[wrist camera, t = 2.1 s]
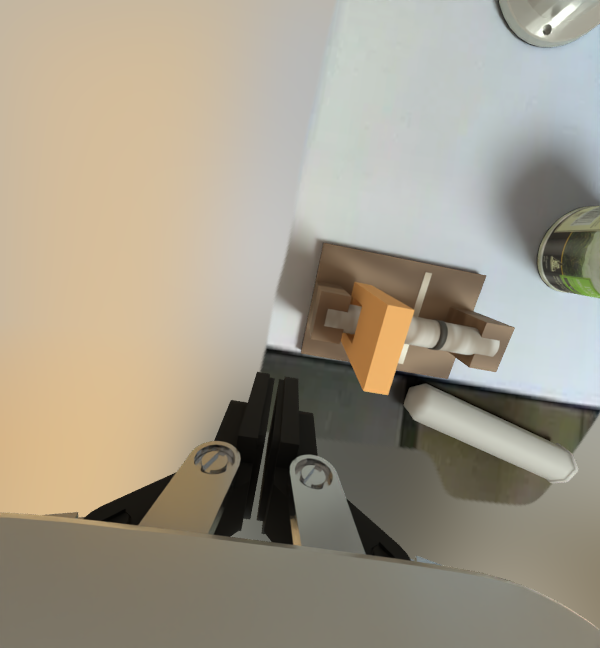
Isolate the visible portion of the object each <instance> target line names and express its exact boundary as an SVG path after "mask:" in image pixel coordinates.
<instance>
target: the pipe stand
mask: <svg viewBox="0 0 600 648" xmlns="http://www.w3.org/2000/svg"><path fill="white" fill-rule="evenodd" d="M485 278H486V275H481V274H476V273H471V272H466V271H461V270H456V269H451V268H446V267H441V266H436V265H431V264H426V263H422V262H417V261H412V260H407V259H402V258H397V257H392V256H387V255H382V254H377V253H372V252H367V251H362V250H357V249H352V248H347V247H342V246H338V245H333V244H328V243H323V247H322V252H321V257H320V262H319V267H318V271H317V276H316V281H315V286H314V291H313V295H312V300H311V305H310V310H309V315H308V320H307V324H306V329H305V334H304V339H303V344H302V348H301V353H302V354H308V355H313V356H319V357H325V358H331V359H336V360H342V361H348V362H350V360H349V358H348V356H347V354H346V351H345V349H344V347H343V345H342V342H341V338H342V334H343V333H349V334H354V335H355V331H356V327H357V323H358V320H359V316H360V312H361V308H362V306H356V305H351V304H350V301H351V297H352V296H351V294H352V290H353V286H354V282H358V283H363V284H368V285H372V286H374V287H376V288H377V289H379V290H381V291H383V292H384V293H386V294H388V295H390V296H391V297H393V298H395V299H397V300H398V301H400V302H402V303H403V304H405V305H407V306H409V307H410V308H412V309H414V310H415V311H414V314H413V317H412V320H411V323H410V327H409V330H408V333H407V336H406V339H405V342H404V346H403V349H402V352H401V355H400V358H399V362H398V365H397V368H396V370H399V371H405V372H411V373H416V374H422V375H428V376H433V377H439V378H445V379H448V377H449V374H450V371H451V369H452V366H453V363H454V361H455V358H457V359H458V360H460V361H461V362H463V363H464V364H465V365H467V366H468V367H470V368H476V369H481V370H487V371H492V372H496V371H497V369H498V366H499V364H500V362H501V359H502V357H503V354H504V352H505V350H506V347H507V345H508V343H509V340H510V338H511V336H512V333H513V331H514V329H515V328H514V327H512V326H509V325H506V324H504V323H501V322H499V321H496V320H494V319H491V318H489V317H486V316H484V315H481V314H479V313H476V312H474V311H473V310H474V307H475V305H476V302H477V299H478V297H479V294H480V291H481V289H482V286H483V283H484V281H485Z"/></svg>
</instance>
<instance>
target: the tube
mask: <svg viewBox="0 0 600 648" xmlns="http://www.w3.org/2000/svg"><path fill="white" fill-rule="evenodd" d="M403 406H404V407H405V408H406V409H407V410H408V411H409V413H410V414H411V416H412V417H413V419H414V420H415V421H418V422H420V423H422V424H424V425H427V426H429V427H431V428H433V429H436V430H438V431H440V432H442V433H445V434H447V435H449V436H451V437H453V438H456V439H458V440H460V441H462V442H465V443H467V444H469V445H471V446H474V447H476V448H478V449H480V450H483V451H485V452H487V453H489V454H492V455H494V456H496V457H498V458H501V459H503V460H505V461H507V462H510V463H512V464H514V465H516V466H519V467H521V468H523V469H525V470H528V471H530V472H532V473H534V474H537V475H539V476H541V477H543V478H546V479H547V480H548V481H549V482H550V483H560V482H568V481H569V480H570V479H571V478H572V477H573V476H574V475H575V474H576V473H577V472H578V471H579V470H578V467H577V465H576V462H575V458H574V455H573V454H572V453H571V452H569V451H568V450H567V449H566V448H564V447H563V446H562V445H560V444H558V443H552V442H550V441H548V440H546V439H544V438H542V437H540V436H537V435H535V434H533V433H531V432H529V431H527V430H525V429H522V428H520V427H518V426H516V425H514V424H512V423H510V422H507V421H505V420H503V419H501V418H499V417H497V416H495V415H492V414H490V413H488V412H486V411H484V410H482V409H480V408H477V407H475V406H473V405H471V404H469V403H467V402H465V401H462V400H460V399H458V398H456V397H454V396H452V395H450V394H447V393H445V392H443V391H441V390H439V389H437V388H435V387H433V386H430V385H428V384H426V383H425V384H421V385H417V386H414V387H410V388H409V390H408V393H407V395H406V398H405V402H404V405H403Z"/></svg>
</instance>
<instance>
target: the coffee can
mask: <svg viewBox="0 0 600 648" xmlns="http://www.w3.org/2000/svg"><path fill="white" fill-rule="evenodd" d="M537 265H538V270H539V273H540V276H541V278H542V279H543V281H544V282H545V283H546V284H547V285H548V286H549V287H550V288H552V289H554V290H556V291H560V292H566V293H574V294H579V295H585V296H590V297H596V298H600V206H589V207H582V208H578V209H576V210H573V211H571V212H569V213H568V214H566V215H564V216H563V217H561V218H560V219H559V220H558V221H557V222H556V223H554V225H553V226H552V227H551V228H550V229H549V230H548V232H547V233H546V235H545V237H544V238H543V240H542V243H541V245H540V248H539V252H538V260H537Z"/></svg>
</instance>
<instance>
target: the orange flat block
mask: <svg viewBox="0 0 600 648" xmlns="http://www.w3.org/2000/svg"><path fill="white" fill-rule="evenodd" d="M351 296H352V297H351V301H350V304H351V305H356V306H362V308H361V312H360V316H359V320H358V323H357V327H356V331H355V335H354V334H349V333H343V334H342V338H341V342H342V345H343V347H344V349H345V351H346V354H347V356H348V358H349V360H350V362H351V365H352V367H353V369H354V371H355V374H356V376H357V378H358V380H359V382H360V385H361V387H362V389H363V391H367V392H373V393H379V394H384V395H388V393H389V390H390V387H391V384H392V381H393V377H394V374H395V371H396V368H397V365H398V362H399V358H400V355H401V352H402V349H403V346H404V342H405V339H406V336H407V333H408V330H409V327H410V323H411V320H412V317H413V314H414V311H415V310H414V309H412V308H410V307H409V306H407V305H405V304H403V303H402V302H400V301H398V300H397V299H395V298H393V297H391V296H390V295H388V294H386V293H384V292H383V291H381V290H379V289H377V288H376V287H374V286H372V285H368V284H363V283H358V282H354V286H353V290H352V294H351Z"/></svg>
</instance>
